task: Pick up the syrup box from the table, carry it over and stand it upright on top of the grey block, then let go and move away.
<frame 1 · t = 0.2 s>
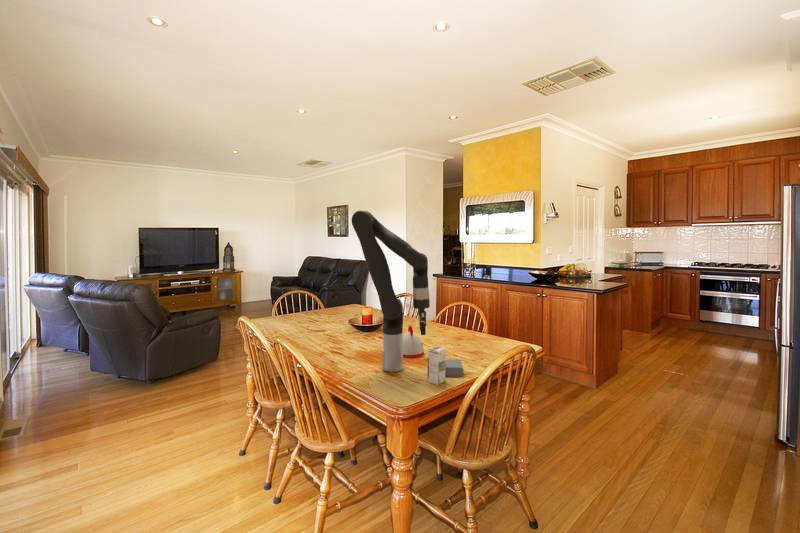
hand: (422, 332, 178), 18 cm above the table, tool pointing down, fingers open, 8 cm apart
kitchen timer: (410, 354, 204), on the table
grey block: (449, 371, 177), on the table
syrup box: (436, 382, 166), on the table
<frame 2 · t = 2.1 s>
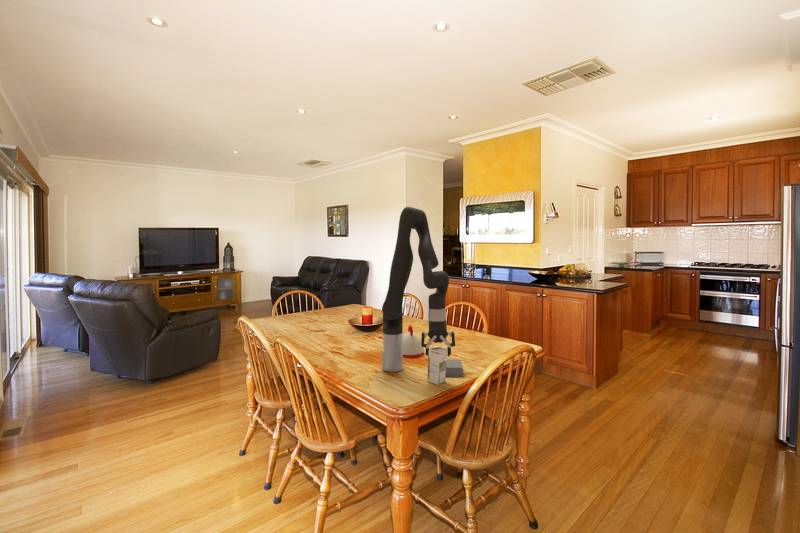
hand: (438, 356, 166), 11 cm above the table, tool pointing down, fingers open, 8 cm apart
nothing on the table moved.
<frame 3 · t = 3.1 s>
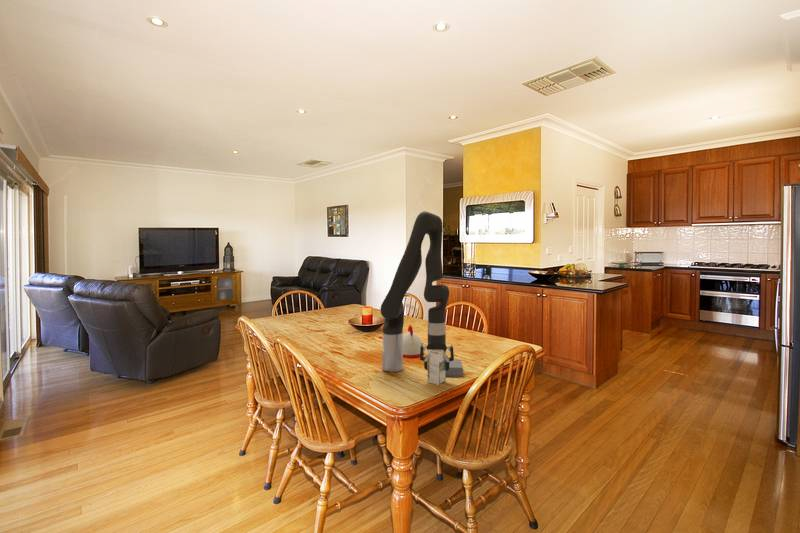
hand: (436, 369, 165), 5 cm above the table, tool pointing down, fingers open, 8 cm apart
syrup box: (436, 382, 166), on the table, touching gripper
everything else where it was.
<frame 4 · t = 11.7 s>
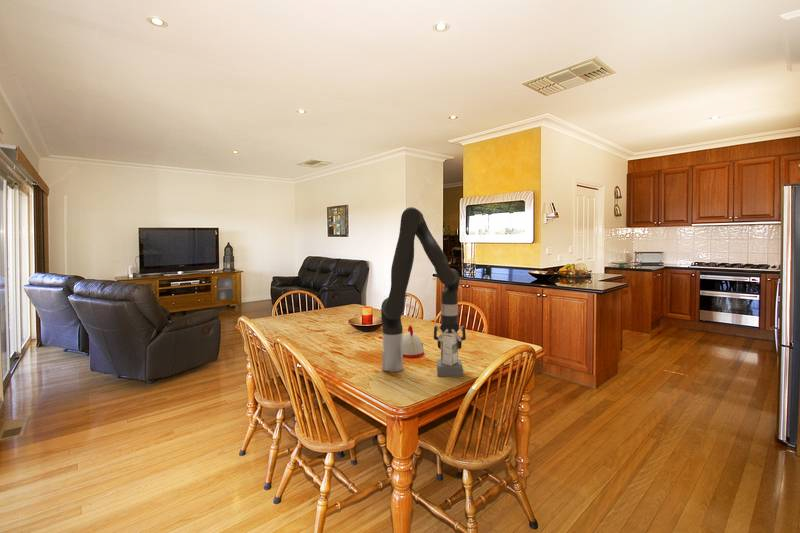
hand: (449, 348, 176), 11 cm above the table, tool pointing down, fingers open, 8 cm apart
syrup box: (449, 363, 177), point 4 cm above the table, touching grey block
everything else where it was.
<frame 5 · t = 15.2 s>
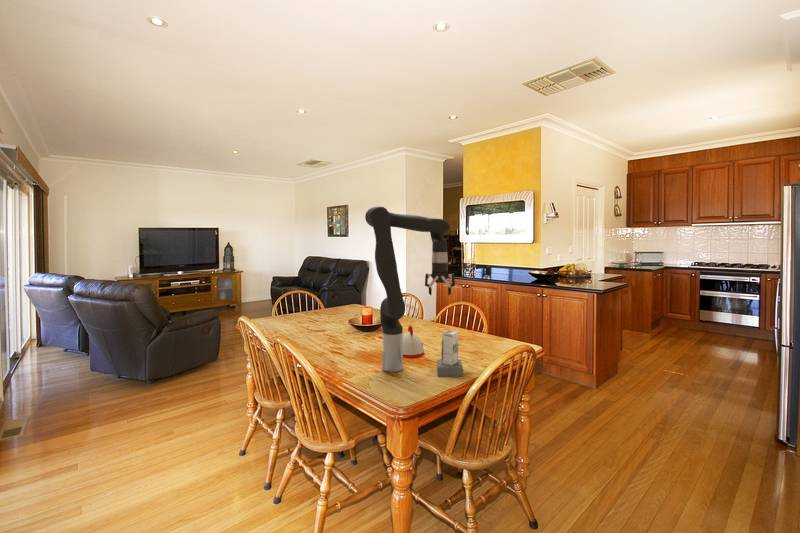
hand: (439, 295, 188), 33 cm above the table, tool pointing down, fingers open, 8 cm apart
nothing on the table moved.
at the end: syrup box inside the target area on the grey block (0.2 cm from its centre), point 3.8 cm above the grey block's base; syrup box tilted 0°; the gripper is holding nothing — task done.
